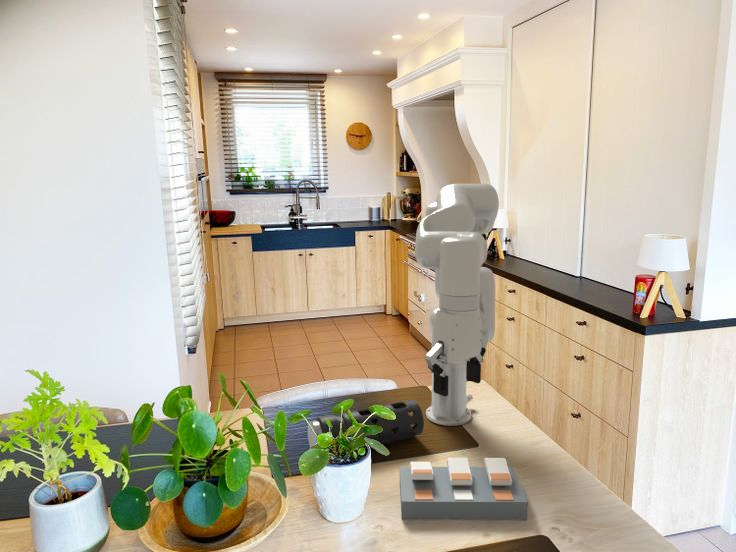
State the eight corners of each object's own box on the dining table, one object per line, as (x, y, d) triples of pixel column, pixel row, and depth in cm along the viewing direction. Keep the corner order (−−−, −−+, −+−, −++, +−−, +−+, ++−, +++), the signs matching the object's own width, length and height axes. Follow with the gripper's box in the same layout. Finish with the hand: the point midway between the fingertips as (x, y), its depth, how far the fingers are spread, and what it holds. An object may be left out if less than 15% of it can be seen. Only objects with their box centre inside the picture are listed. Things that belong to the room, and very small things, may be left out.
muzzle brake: (424, 445, 142) (424, 407, 140) (319, 469, 131) (317, 428, 129) (407, 429, 151) (407, 393, 149) (307, 451, 140) (305, 412, 138)
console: (399, 482, 125) (399, 465, 124) (512, 483, 125) (513, 466, 124) (401, 519, 113) (401, 500, 112) (527, 520, 112) (528, 501, 111)
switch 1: (410, 472, 123) (410, 461, 123) (430, 472, 123) (430, 461, 123) (412, 485, 116) (411, 473, 116) (433, 485, 116) (433, 473, 116)
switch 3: (483, 466, 122) (484, 457, 122) (504, 466, 122) (505, 457, 121) (489, 489, 116) (490, 480, 115) (511, 490, 116) (512, 480, 115)
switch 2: (446, 466, 123) (447, 457, 122) (466, 466, 123) (467, 457, 122) (450, 489, 116) (450, 479, 115) (471, 489, 116) (472, 480, 115)
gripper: (472, 292, 115) (470, 372, 118) (412, 306, 103) (412, 393, 107) (503, 298, 109) (500, 381, 112) (443, 313, 98) (442, 405, 101)
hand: (457, 387), depth 109 cm, fingers open, 9 cm apart
